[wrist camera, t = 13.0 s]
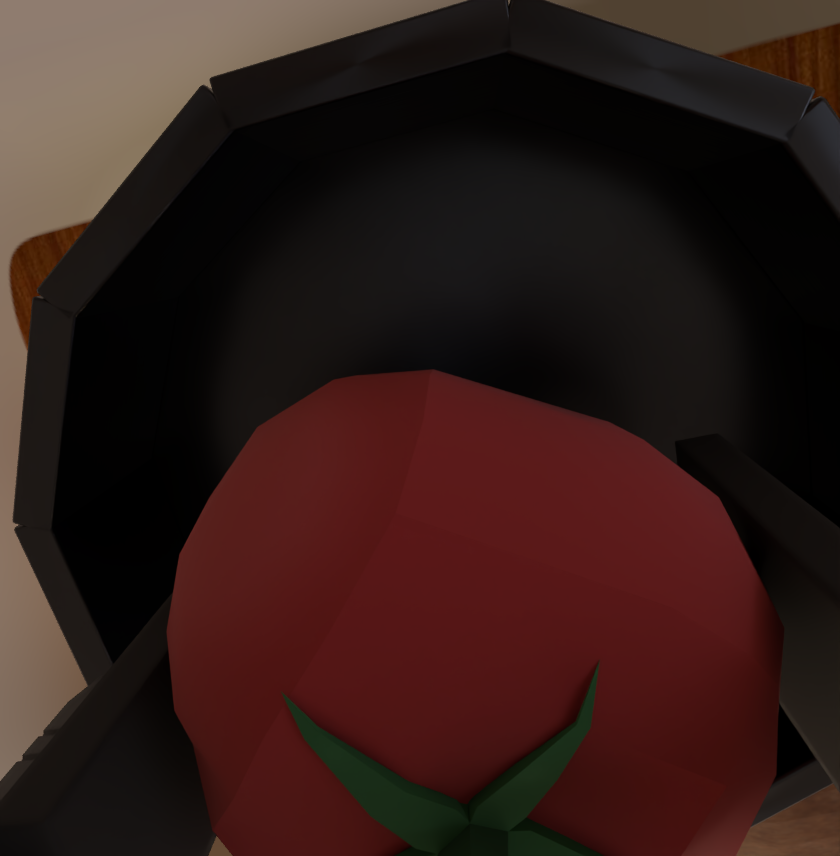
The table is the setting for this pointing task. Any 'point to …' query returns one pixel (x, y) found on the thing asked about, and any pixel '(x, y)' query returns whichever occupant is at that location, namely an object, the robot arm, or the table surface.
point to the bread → (799, 829)
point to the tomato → (470, 636)
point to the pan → (435, 279)
